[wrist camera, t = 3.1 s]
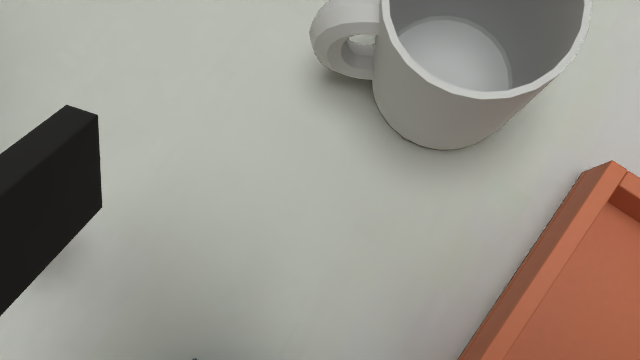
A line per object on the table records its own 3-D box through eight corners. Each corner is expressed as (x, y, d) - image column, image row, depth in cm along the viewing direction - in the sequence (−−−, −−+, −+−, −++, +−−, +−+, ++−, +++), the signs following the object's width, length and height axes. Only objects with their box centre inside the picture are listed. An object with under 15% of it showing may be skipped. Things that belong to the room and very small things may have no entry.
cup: (513, 158, 28) (590, 107, 19) (309, 142, 28) (292, 85, 20) (518, 18, 29) (594, -92, 20) (321, 5, 30) (311, -106, 21)
